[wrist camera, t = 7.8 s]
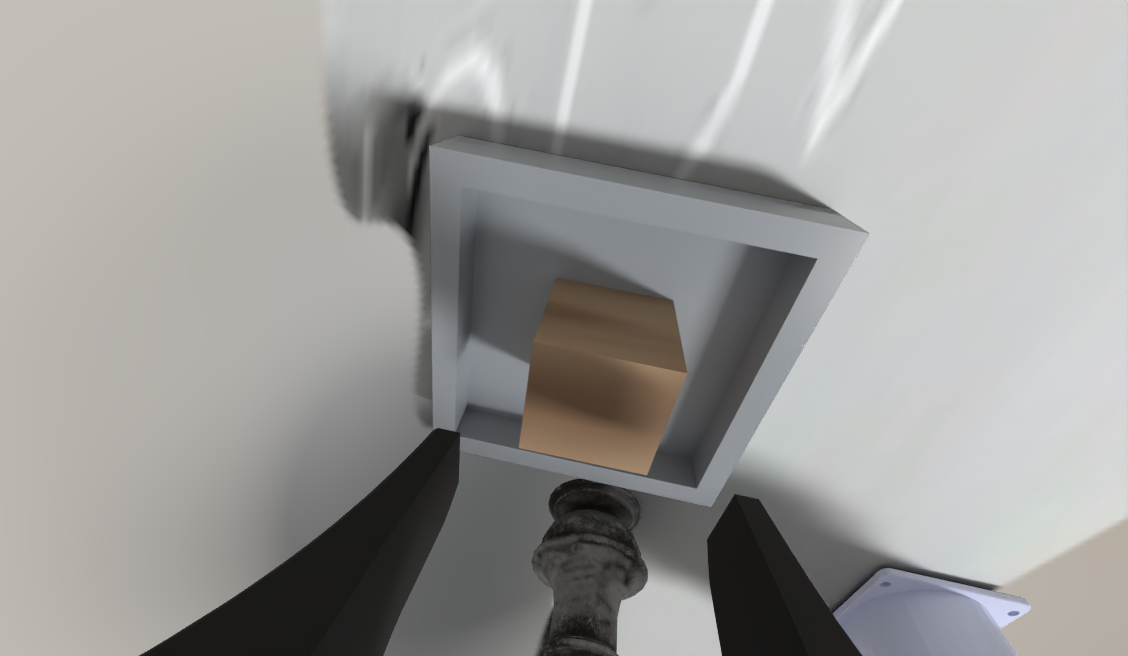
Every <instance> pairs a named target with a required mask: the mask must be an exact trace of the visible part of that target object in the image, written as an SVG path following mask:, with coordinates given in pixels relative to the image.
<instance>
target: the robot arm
mask: <svg viewBox="0 0 1128 656" xmlns="http://www.w3.org/2000/svg"><path fill="white" fill-rule="evenodd" d="M459 454H460V433H459V432H455V431H450V430H446V429H441V428H436V429H434V430H433V431H432V432H431V433H430V434H429V436H428V437H427V438H426V439H425V440H424V441H423V442H422V443H421V444H420V445H419V447H417V448H416V449H415V450H414V451H413V452H412V453H411V454H410V455H409V456H408V457H407V458H406V460H404V461H403V462H402V463H401V464H400V465H399V466H398V468H396V469H395V470H394V471H393V472H392V473H391V474H390V475H389V476H388V477H387V478H386V479H385V480H383V481H382V482H381V484H379V485H378V486H377V487H376V488H375V489H374V490H373V491H372V492H371V493H370V494H368V495H367V496H366V497H365V498H364V499H363V500H361V501H360V502H359V503H358V504H357V505H356V506H354V507H353V508H352V509H351V510H350V511H349V512H347V513H346V514H345V515H344V516H343V517H342V518H341V519H339V520H338V521H337V522H336V523H335V524H333V525H332V526H331V527H330V528H328V529H327V530H326V531H325V532H323V533H322V534H321V535H320V536H318V537H317V538H316V539H314V540H313V541H312V542H311V543H310V544H308V545H307V546H305V547H304V548H303V549H301V550H300V551H299V552H298V553H296V554H295V555H293V556H292V557H291V558H289V559H288V560H287V561H285V562H284V563H283V564H281V565H280V566H278V567H277V568H276V569H274V570H272V571H271V572H270V573H268V574H267V575H265V576H264V577H263V578H261V579H260V580H258V581H257V582H255V583H254V584H253V585H251V586H250V587H248V588H247V589H245V590H244V591H242V592H241V593H239V594H238V595H237V596H235V597H233V598H232V599H230V600H229V601H227V602H226V603H224V604H223V605H221V606H219V607H218V608H216V609H215V610H213V611H211V612H210V613H208V614H207V615H205V616H203V617H202V618H200V619H199V620H197V621H196V622H194V623H192V624H191V625H189V626H187V627H186V628H185V629H183V630H181V631H180V632H178V633H176V634H175V635H173V636H172V637H170V638H169V639H167V640H165V641H163V642H162V643H160V644H158V645H157V646H155V647H153V648H152V649H150V650H148V651H147V652H145V653H143V654H141V655H140V656H383V655H384V652H385V650H386V647H387V645H388V642H389V639H390V637H391V634H392V632H393V629H394V627H395V625H396V623H397V620H398V618H399V616H400V613H401V611H402V609H403V607H404V605H405V603H406V601H407V599H408V597H409V594H410V593H411V590H412V588H413V586H414V584H415V582H416V580H417V578H418V576H419V574H420V572H421V570H422V568H423V566H424V564H425V561H426V559H427V557H428V555H429V553H430V551H431V549H432V547H433V545H434V543H435V541H436V539H437V536H438V534H439V532H440V530H441V528H442V526H443V524H444V522H445V519H446V516H447V513H448V511H449V508H450V505H451V503H452V500H453V497H454V494H455V491H456V488H457V486H458V482H459V456H460V455H459ZM707 546H708V566H709V580H710V588H711V594H712V600H713V606H714V612H715V618H716V624H717V629H718V635H719V641H720V646H721V652H722V656H1018V654H1017V653H1016V651H1015V650H1014V648H1013V647H1012V645H1011V644H1010V642H1009V641H1008V639H1007V638H1006V636H1005V635H1004V633H1003V632H1002V630H1001V628H1002V627H1004V626H1006V625H1007V624H1009V623H1010V622H1012V621H1014V620H1015V619H1017V618H1018V617H1020V616H1022V615H1023V614H1025V613H1026V612H1028V611H1029V610H1030V609H1031V606H1030V604H1029V603H1028V602H1027V601H1026V599H1024V598H1021V597H1017V596H1013V595H1008V594H1004V593H999V592H995V591H990V590H986V589H981V588H977V587H972V586H968V585H964V584H959V583H955V582H950V581H946V580H941V579H937V578H932V577H928V576H923V575H919V574H914V573H910V572H905V571H901V570H897V569H892V568H884V569H881V570H879V571H878V572H877V573H876V574H875V575H874V576H873V577H872V578H871V579H869V580H868V581H867V582H866V583H865V584H864V585H863V586H862V587H861V588H860V589H859V590H858V591H856V592H855V593H854V594H853V595H852V596H851V597H850V598H849V599H848V600H847V601H846V602H845V603H843V604H842V605H841V606H840V607H839V608H838V609H837V610H836V611H835V612H834V613H833V614H832V612H831V611H830V609H829V608H828V607H827V605H826V604H825V602H824V601H823V599H822V598H821V596H820V595H819V593H818V592H817V590H816V589H815V587H814V586H813V584H812V583H811V581H810V580H809V578H808V577H807V575H806V573H805V572H804V570H803V569H802V567H801V566H800V564H799V563H798V561H797V559H796V558H795V556H794V555H793V553H792V552H791V550H790V548H789V547H788V545H787V544H786V542H785V540H784V539H783V537H782V536H781V534H780V532H779V531H778V529H777V528H776V526H775V524H774V523H773V521H772V520H771V518H770V516H769V515H768V513H767V512H766V510H765V508H764V507H763V505H762V504H761V502H760V500H759V499H755V498H750V497H746V496H741V495H737V494H735V495H734V496H733V498H732V500H731V501H730V503H729V505H728V506H727V508H726V510H725V511H724V513H723V515H722V516H721V518H720V519H719V521H718V523H717V524H716V526H715V528H714V529H713V531H712V533H711V534H710V536H709V538H708V539H707Z"/></svg>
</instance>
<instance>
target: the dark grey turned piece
mask: <svg viewBox="0 0 1128 656" xmlns="http://www.w3.org/2000/svg"><path fill="white" fill-rule="evenodd" d="M549 510H550V513H551V515H552V517H553V518H554V520H555V522H554V523H553V524H552V525H551V526H550V528H549V530H548V531H547V533H546V534H545V535H544V537H543V540H542V543H541V544H540V545H539V546H538V547H537V549H536V550H535V551H534V554H533V558H532V565H533V570H534V572H535V573H536V575H537V576H538V578H539V579H540V580H541V581H542V582H543V583H544V584H545V585H546V586H548V587H549V588H551V589H552V590H553V595H554V609H553V616H552V623H551V630H550V636H549V642H547V643H546V644H545V645H544V646H542V648H541V651H540V656H618V655H617V654H616V651H617V616H618V612H619V607H620V603H621V600H625V599H627V598H630V597H632V596H634V595H636V594H637V593H638V592H639V591H641V590H642V589H643V588H644V586H645V584H646V582H647V578H648V570H647V567H646V565H645V563H644V561H643V560H642V558H641V553H640V550H639V548H638V546H637V543H636V541H635V539H634V536H633V534H632V532H631V530H632V529H633V528H634V527H635V526H636V525H637V523H638V521H639V519H640V507H639V504H638V502H637V500H636V499H635V497H634V496H633V495H632V494H631V493H630V492H629V491H627V490H626V489H624V488H622V487H617V486H613V485H608V484H604V483H599V482H595V481H590V480H586V479H574V480H571V481H568V482H565V483H563V484H561V485H560V486H559V487H557V488H556V489H555V490H554V492H553V493H552V494H551V496H550V500H549Z"/></svg>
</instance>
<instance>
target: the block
mask: <svg viewBox="0 0 1128 656" xmlns="http://www.w3.org/2000/svg"><path fill="white" fill-rule="evenodd" d="M686 376H687V368H686V363H685V358H684V353H683V348H682V343H681V337H680V332H679V327H678V322H677V317H676V311H675V306H674V301H672V300H667V299H662V298H657V297H652V296H647V295H642V294H637V293H632V292H627V291H622V290H617V289H612V288H607V287H602V286H597V285H591V284H586V283H581V282H576V281H571V280H566V279H561V278H556V280H555V283H554V286H553V288H552V291H551V294H550V297H549V299H548V302H547V305H546V307H545V310H544V313H543V316H542V318H541V321H540V324H539V327H538V329H537V332H536V335H535V338H534V340H533V345H532V353H531V360H530V367H529V375H528V382H527V390H526V397H525V405H524V412H523V419H522V427H521V434H520V442H519V448H521V449H526V450H531V451H535V452H540V453H545V454H549V455H554V456H559V457H563V458H568V459H573V460H577V461H582V462H587V463H591V464H596V465H601V466H606V467H610V468H615V469H620V470H624V471H629V472H634V473H638V474H643V475H647V474H648V471H649V469H650V466H651V464H652V461H653V459H654V456H655V454H656V451H657V449H658V446H659V444H660V441H661V439H662V436H663V434H664V431H665V429H666V426H667V424H668V421H669V419H670V416H671V414H672V411H673V408H674V406H675V403H676V401H677V398H678V396H679V393H680V391H681V388H682V386H683V383H684V381H685V378H686Z"/></svg>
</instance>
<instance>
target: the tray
mask: <svg viewBox="0 0 1128 656" xmlns="http://www.w3.org/2000/svg"><path fill="white" fill-rule="evenodd" d="M429 169H430V244H431V320H432V396H433V430H434V429H436V428H441V429H446V430H450V431H455V432H459V433H460V452H464V453H469V454H473V455H478V456H482V457H487V458H491V459H496V460H500V461H505V462H509V463H514V464H518V465H523V466H527V467H532V468H536V469H541V470H546V471H550V472H554V473H559V474H563V475H568V476H572V477H577V478H581V479H586V480H590V481H595V482H599V483H604V484H608V485H613V486H617V487H622V488H626V489H631V490H635V491H640V492H644V493H649V494H653V495H658V496H662V497H667V498H671V499H676V500H680V501H685V502H689V503H694V504H698V505H703V506H707V507H712V505H713V504H714V502H715V500H716V498H717V497H718V495H719V493H720V492H721V490H722V488H723V486H724V485H725V483H726V481H727V479H728V478H729V476H730V474H731V473H732V471H733V469H734V467H735V466H736V464H737V462H738V460H739V459H740V457H741V455H742V453H743V452H744V450H745V448H746V447H747V445H748V443H749V441H750V440H751V438H752V436H753V434H754V433H755V431H756V429H757V428H758V426H759V424H760V422H761V421H762V419H763V417H764V415H765V414H766V412H767V410H768V409H769V407H770V405H771V403H772V402H773V400H774V398H775V396H776V395H777V393H778V391H779V390H780V388H781V386H782V384H783V383H784V381H785V379H786V377H787V376H788V374H789V372H790V370H791V369H792V367H793V365H794V364H795V362H796V360H797V358H798V357H799V355H800V353H801V351H802V350H803V348H804V346H805V345H806V343H807V341H808V339H809V338H810V336H811V334H812V332H813V331H814V329H815V327H816V326H817V324H818V322H819V320H820V319H821V317H822V315H823V313H824V312H825V310H826V308H827V306H828V305H829V303H830V301H831V300H832V298H833V296H834V294H835V293H836V291H837V289H838V287H839V286H840V284H841V282H842V281H843V279H844V277H845V275H846V274H847V272H848V270H849V268H850V267H851V265H852V263H853V262H854V260H855V258H856V256H857V255H858V253H859V251H860V249H861V248H862V246H863V244H864V243H865V241H866V239H867V237H868V236H869V234H870V233H868V232H867V231H865V230H864V229H862V228H861V227H859V226H857V225H856V224H854V223H853V222H851V221H850V220H848V219H847V218H845V217H844V216H842V215H841V214H839V213H838V212H836V211H835V210H832V209H827V208H822V207H817V206H812V205H807V204H802V203H797V202H792V201H787V200H782V199H777V198H772V197H767V196H762V195H757V194H752V193H747V192H742V191H736V190H731V189H726V188H721V187H716V186H711V185H706V184H701V183H696V182H691V181H686V180H681V179H676V178H671V177H666V176H661V175H656V174H651V173H646V172H641V171H636V170H630V169H625V168H620V167H615V166H610V165H605V164H600V163H595V162H590V161H585V160H580V159H575V158H570V157H565V156H560V155H555V154H550V153H545V152H540V151H535V150H529V149H524V148H519V147H514V146H509V145H504V144H499V143H494V142H489V141H484V140H479V139H474V138H469V137H464V136H456V137H453V138H450V139H447V140H444V141H441V142H439V143H436V144H433V145H430V146H429ZM556 278H561V279H566V280H571V281H576V282H581V283H586V284H591V285H597V286H602V287H607V288H612V289H617V290H622V291H627V292H632V293H637V294H642V295H647V296H652V297H657V298H662V299H667V300H672V301H674V306H675V311H676V317H677V322H678V327H679V332H680V337H681V343H682V348H683V353H684V358H685V363H686V368H687V376H686V378H685V381H684V383H683V386H682V388H681V391H680V393H679V396H678V398H677V401H676V403H675V406H674V408H673V411H672V414H671V416H670V419H669V421H668V424H667V426H666V429H665V431H664V434H663V436H662V439H661V441H660V444H659V446H658V449H657V451H656V454H655V456H654V459H653V461H652V464H651V466H650V469H649V471H648V474H647V475H643V474H638V473H634V472H629V471H624V470H620V469H615V468H610V467H606V466H601V465H596V464H591V463H587V462H582V461H577V460H573V459H568V458H563V457H559V456H554V455H549V454H545V453H540V452H535V451H531V450H526V449H521V448H519V442H520V434H521V427H522V419H523V412H524V405H525V397H526V390H527V382H528V375H529V367H530V360H531V353H532V345H533V340H534V338H535V335H536V332H537V329H538V327H539V324H540V321H541V318H542V316H543V313H544V310H545V307H546V305H547V302H548V299H549V297H550V294H551V291H552V288H553V286H554V283H555V280H556Z"/></svg>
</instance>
